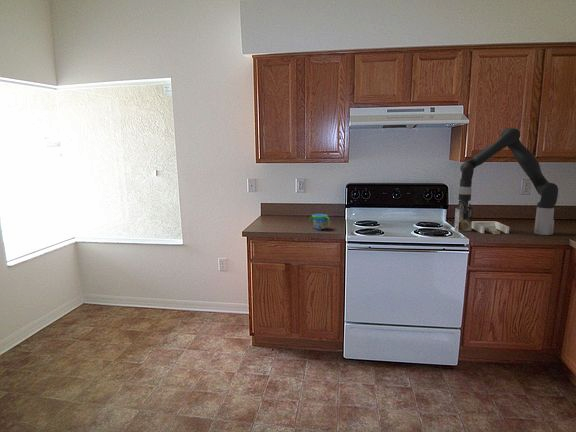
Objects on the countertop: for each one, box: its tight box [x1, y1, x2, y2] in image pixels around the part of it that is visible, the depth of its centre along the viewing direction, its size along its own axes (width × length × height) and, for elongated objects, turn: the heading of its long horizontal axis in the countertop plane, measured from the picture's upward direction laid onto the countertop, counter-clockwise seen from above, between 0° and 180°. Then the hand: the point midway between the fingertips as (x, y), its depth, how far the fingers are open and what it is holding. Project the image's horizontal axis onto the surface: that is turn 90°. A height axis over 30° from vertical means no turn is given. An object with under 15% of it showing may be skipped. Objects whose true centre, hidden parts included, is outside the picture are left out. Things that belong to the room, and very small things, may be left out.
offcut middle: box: [484, 228, 501, 235], centre depth 244 cm, size 10×4×2 cm, turn 4°
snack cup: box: [309, 213, 331, 231], centre depth 264 cm, size 16×10×10 cm
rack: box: [472, 220, 510, 234], centre depth 250 cm, size 17×18×5 cm
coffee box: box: [453, 206, 474, 233], centre depth 250 cm, size 9×6×16 cm
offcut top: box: [489, 226, 498, 231], centre depth 244 cm, size 8×4×2 cm, turn 154°
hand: (463, 217), depth 250 cm, fingers open, 8 cm apart
